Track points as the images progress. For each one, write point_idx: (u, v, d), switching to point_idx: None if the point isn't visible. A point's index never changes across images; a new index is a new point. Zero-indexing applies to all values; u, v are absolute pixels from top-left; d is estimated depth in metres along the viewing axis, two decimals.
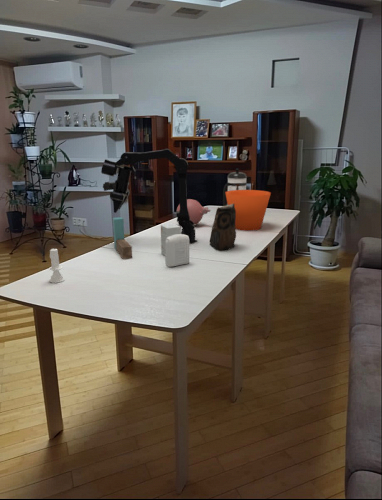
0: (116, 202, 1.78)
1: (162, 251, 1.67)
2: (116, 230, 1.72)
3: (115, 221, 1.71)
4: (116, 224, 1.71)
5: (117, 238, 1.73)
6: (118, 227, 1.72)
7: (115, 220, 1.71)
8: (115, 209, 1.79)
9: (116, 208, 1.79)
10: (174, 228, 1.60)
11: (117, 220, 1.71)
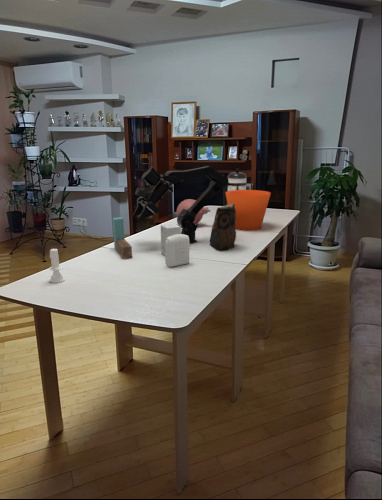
0: (146, 212, 1.71)
1: (162, 251, 1.67)
2: (116, 230, 1.72)
3: (115, 221, 1.71)
4: (116, 224, 1.71)
5: (117, 238, 1.73)
6: (118, 227, 1.72)
7: (115, 220, 1.71)
8: (141, 218, 1.71)
9: (142, 217, 1.71)
10: (174, 228, 1.60)
11: (117, 220, 1.71)
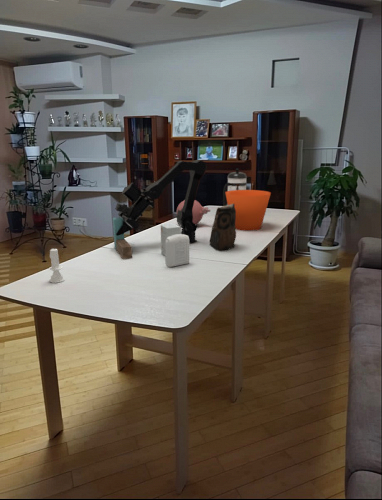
0: (124, 227, 1.72)
1: (162, 251, 1.67)
2: (116, 230, 1.72)
3: (115, 221, 1.71)
4: (116, 224, 1.71)
5: (117, 238, 1.73)
6: (118, 227, 1.72)
7: (115, 220, 1.71)
8: (120, 232, 1.72)
9: (121, 232, 1.72)
10: (174, 228, 1.60)
11: (117, 220, 1.71)
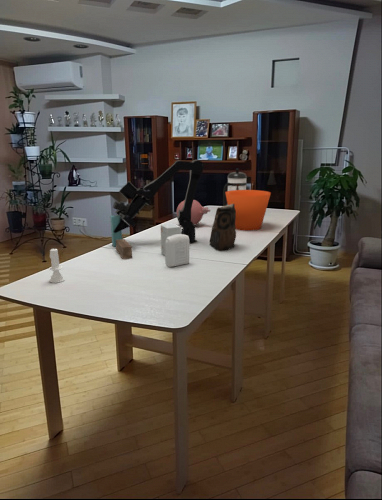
0: (122, 224, 1.77)
1: (162, 251, 1.67)
2: (114, 227, 1.77)
3: (113, 219, 1.76)
4: (114, 221, 1.76)
5: (115, 235, 1.78)
6: (115, 224, 1.77)
7: (113, 218, 1.76)
8: (117, 230, 1.77)
9: (118, 229, 1.77)
10: (174, 228, 1.60)
11: (115, 218, 1.76)
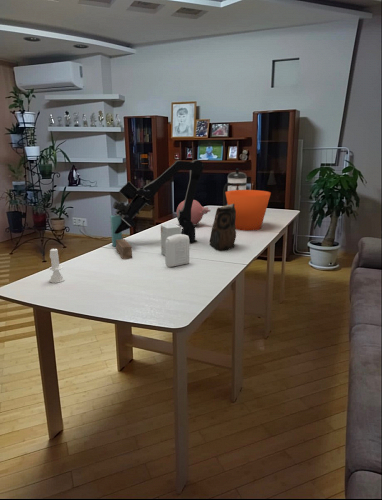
0: (123, 225, 1.75)
1: (162, 251, 1.67)
2: (114, 227, 1.77)
3: (113, 219, 1.76)
4: (113, 221, 1.77)
5: (114, 235, 1.78)
6: (115, 224, 1.77)
7: (113, 218, 1.76)
8: (118, 231, 1.75)
9: (119, 230, 1.75)
10: (174, 228, 1.60)
11: (115, 218, 1.76)
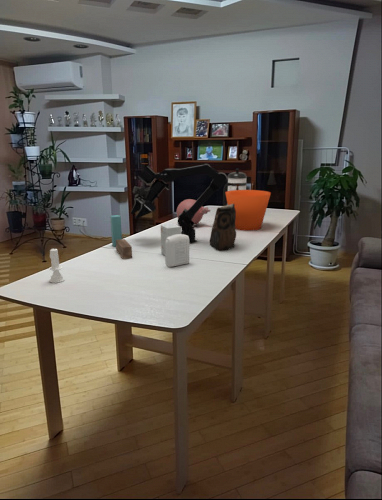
0: (143, 210, 1.78)
1: (162, 251, 1.67)
2: (114, 227, 1.77)
3: (113, 219, 1.76)
4: (113, 221, 1.77)
5: (114, 235, 1.78)
6: (115, 224, 1.77)
7: (113, 218, 1.76)
8: (139, 215, 1.78)
9: (140, 215, 1.78)
10: (174, 228, 1.60)
11: (115, 218, 1.76)
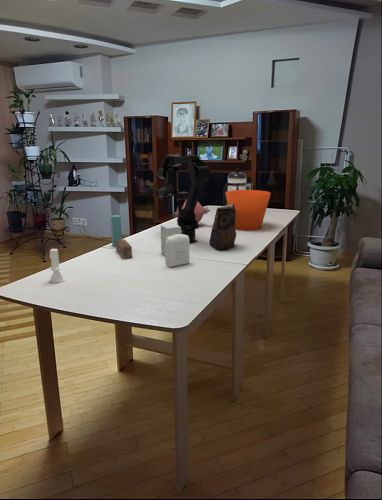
0: (180, 202, 1.92)
1: (162, 251, 1.67)
2: (114, 227, 1.77)
3: (113, 219, 1.76)
4: (113, 221, 1.77)
5: (114, 235, 1.78)
6: (115, 224, 1.77)
7: (113, 218, 1.76)
8: (180, 208, 1.93)
9: (181, 207, 1.93)
10: (174, 228, 1.60)
11: (115, 218, 1.76)
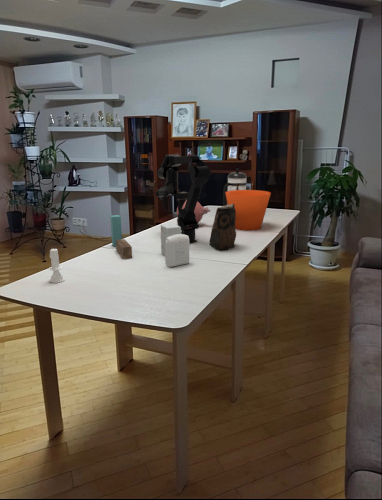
0: (180, 202, 1.92)
1: (162, 251, 1.67)
2: (114, 227, 1.77)
3: (113, 219, 1.76)
4: (113, 221, 1.77)
5: (114, 235, 1.78)
6: (115, 224, 1.77)
7: (113, 218, 1.76)
8: (180, 208, 1.93)
9: (181, 207, 1.93)
10: (174, 228, 1.60)
11: (115, 218, 1.76)
